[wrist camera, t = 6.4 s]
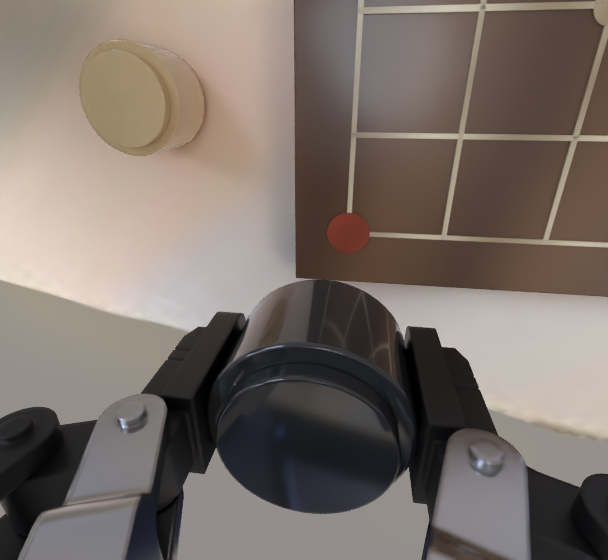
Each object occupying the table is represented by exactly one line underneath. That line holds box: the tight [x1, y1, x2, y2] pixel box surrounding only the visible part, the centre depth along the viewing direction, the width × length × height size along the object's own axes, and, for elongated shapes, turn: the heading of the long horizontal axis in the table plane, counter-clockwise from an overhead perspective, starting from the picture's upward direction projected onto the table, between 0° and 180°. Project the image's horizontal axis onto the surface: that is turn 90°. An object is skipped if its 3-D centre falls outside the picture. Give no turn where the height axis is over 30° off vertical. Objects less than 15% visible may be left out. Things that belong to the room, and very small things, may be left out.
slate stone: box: [206, 280, 419, 514], centre depth 9 cm, size 5×5×4 cm
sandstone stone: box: [79, 39, 205, 156], centre depth 18 cm, size 5×5×4 cm
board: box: [294, 0, 608, 297], centre depth 16 cm, size 20×20×2 cm
